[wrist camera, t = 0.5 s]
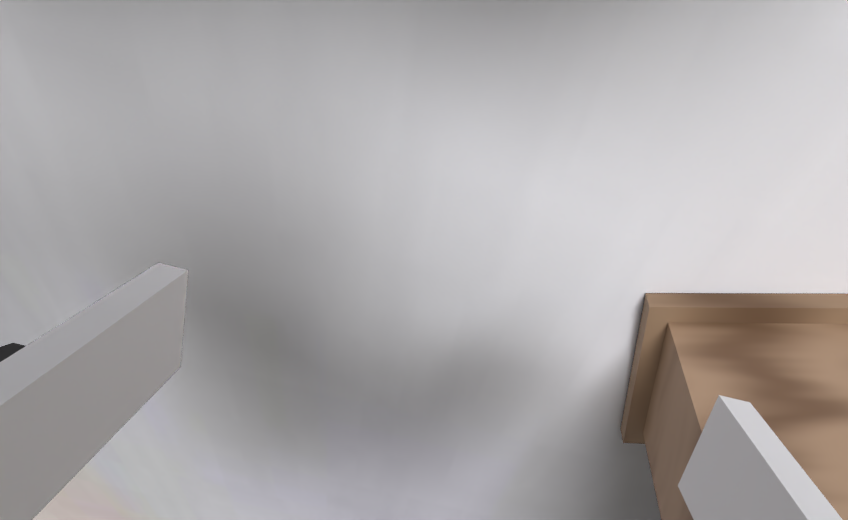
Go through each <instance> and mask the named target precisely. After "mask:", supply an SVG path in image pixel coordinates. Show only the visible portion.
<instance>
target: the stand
mask: <svg viewBox="0 0 848 520" xmlns="http://www.w3.org/2000/svg"><path fill="white" fill-rule="evenodd" d="M719 395H721V396H725V397H729V398H733V399H738V400H742V401H746V402H750V403H751V404H752V405H753V407H754V408H755V409H756V410H757V412H758V413H759V414H760V415H761V417H762V418H763V419H764V421H765V422H766V423H767V424H768V426H769V427H770V428H771V429H772V431H773V432H774V433H775V434H776V436H777V437H778V438H779V440H780V441H781V442H782V443H783V445H784V446H785V447H786V448H787V450H788V451H789V452H790V453H791V455H792V456H793V457H794V459H795V460H796V461H797V462H798V464H799V465H800V466H801V467H802V469H803V470H804V471H805V472H806V474H807V475H808V476H809V478H810V479H811V480H812V481H813V483H814V484H815V485H816V486H817V488H818V489H819V490H820V491H821V493H822V494H823V495H824V497H825V498H826V499H827V500H828V502H829V503H830V504H831V505H832V507H833V508H834V509H835V510H836V512H837V513H838V514H839V516H840V517H841V518H842V519H843V520H848V294H720V293H646V294H645V300H644V305H643V310H642V316H641V321H640V327H639V332H638V337H637V343H636V348H635V353H634V359H633V364H632V370H631V375H630V380H629V386H628V391H627V396H626V402H625V407H624V413H623V418H622V423H621V434H622V440H623V443H639V444H645V446H646V450H647V455H648V460H649V464H650V469H651V474H652V478H653V483H654V488H655V492H656V497H657V502H658V506H659V511H660V516H661V520H693V517H692V515H691V513H690V511H689V509H688V507H687V505H686V502H685V500H684V498H683V496H682V494H681V492H680V489H679V487H678V484H679V482H680V480H681V477H682V475H683V473H684V471H685V469H686V466H687V464H688V462H689V460H690V458H691V455H692V453H693V451H694V449H695V446H696V444H697V442H698V440H699V438H700V435H701V433H702V431H703V429H704V427H705V424H706V422H707V420H708V418H709V416H710V413H711V411H712V409H713V407H714V405H715V402H716V400H717V398H718V396H719Z"/></svg>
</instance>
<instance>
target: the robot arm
mask: <svg viewBox="0 0 848 520" xmlns="http://www.w3.org/2000/svg"><path fill="white" fill-rule="evenodd" d="M188 271H189V270H187V269H183V268H179V267H175V266H170V265H166V264H162V263H157V264H155V265H154V266H152V267H150V268H149V269H147V270H146V271H144V272H142V273H141V274H139V275H138V276H136V277H135V278H133V279H131V280H130V281H128V282H127V283H125V284H123V285H122V286H120V287H119V288H117V289H115V290H114V291H112V292H111V293H109V294H108V295H106V296H104V297H103V298H101V299H100V300H98V301H96V302H95V303H93V304H92V305H90V306H89V307H87V308H85V309H84V310H82V311H81V312H79V313H77V314H76V315H74V316H73V317H71V318H70V319H68V320H66V321H65V322H63V323H62V324H60V325H58V326H57V327H55V328H54V329H52V330H51V331H49V332H47V333H46V334H44V335H43V336H41V337H39V338H38V339H36V340H35V341H33V342H31V343H30V344H28V345H27V346H24V345H20V344H16V343H11V344H8V345H5V346H2V347H0V520H32V519H33V518H34V517H35V516H36V515H37V514H38V513H39V512H40V511H41V510H42V509H43V508H44V507H45V506H46V505H47V504H48V503H49V502H50V501H51V500H52V499H53V498H54V497H55V496H56V495H57V494H58V493H59V492H60V491H61V490H62V489H63V488H64V486H65V485H66V484H67V483H68V482H69V481H70V480H71V479H72V478H73V477H74V476H75V475H76V474H77V473H78V472H79V471H80V470H81V469H82V468H83V467H84V466H85V465H86V464H87V463H88V462H89V461H90V460H91V459H92V458H93V457H94V456H95V455H96V454H97V453H98V452H99V450H100V449H101V448H102V447H103V446H104V445H105V444H106V443H107V442H108V441H109V440H110V439H111V438H112V437H113V436H114V435H115V434H116V433H117V432H118V431H119V430H120V429H121V428H122V427H123V426H124V425H125V424H126V423H127V422H128V421H129V420H130V419H131V418H132V417H133V416H134V415H135V413H136V412H137V411H138V410H139V409H140V408H141V407H142V406H143V405H144V404H145V403H146V402H147V401H148V400H149V399H150V398H151V397H152V396H153V395H154V394H155V393H156V392H157V391H158V390H159V389H160V388H161V387H162V386H163V385H164V384H165V383H166V382H167V381H168V380H169V379H170V378H171V376H172V375H173V374H174V373H175V372H176V371H177V370H178V369H179V368H180V367H181V357H182V345H183V333H184V321H185V308H186V296H187V284H188ZM678 487H679V489H680V492H681V494H682V496H683V498H684V500H685V502H686V505H687V507H688V509H689V511H690V513H691V515H692V517H693V520H843V519H842V518H841V517H840V516H839V514H838V513H837V512H836V510H835V509H834V508H833V507H832V505H831V504H830V503H829V502H828V500H827V499H826V498H825V497H824V495H823V494H822V493H821V491H820V490H819V489H818V488H817V486H816V485H815V484H814V483H813V481H812V480H811V479H810V478H809V476H808V475H807V474H806V472H805V471H804V470H803V469H802V467H801V466H800V465H799V464H798V462H797V461H796V460H795V459H794V457H793V456H792V455H791V453H790V452H789V451H788V450H787V448H786V447H785V446H784V445H783V443H782V442H781V441H780V440H779V438H778V437H777V436H776V434H775V433H774V432H773V431H772V429H771V428H770V427H769V426H768V424H767V423H766V422H765V421H764V419H763V418H762V417H761V415H760V414H759V413H758V412H757V410H756V409H755V408H754V407H753V405H752V404H751V403H750V402H746V401H742V400H738V399H733V398H729V397H725V396H721V395H719V396H718V398H717V400H716V402H715V405H714V407H713V409H712V411H711V413H710V416H709V418H708V420H707V422H706V424H705V427H704V429H703V431H702V433H701V435H700V438H699V440H698V442H697V444H696V446H695V449H694V451H693V453H692V455H691V458H690V460H689V462H688V464H687V466H686V469H685V471H684V473H683V475H682V477H681V480H680V482H679V484H678Z"/></svg>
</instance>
